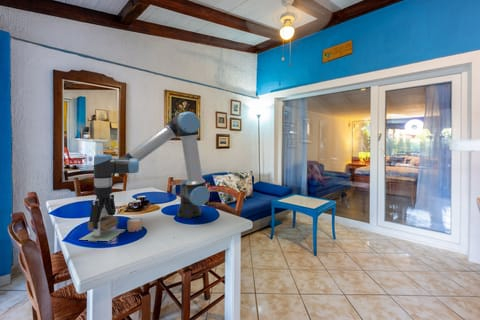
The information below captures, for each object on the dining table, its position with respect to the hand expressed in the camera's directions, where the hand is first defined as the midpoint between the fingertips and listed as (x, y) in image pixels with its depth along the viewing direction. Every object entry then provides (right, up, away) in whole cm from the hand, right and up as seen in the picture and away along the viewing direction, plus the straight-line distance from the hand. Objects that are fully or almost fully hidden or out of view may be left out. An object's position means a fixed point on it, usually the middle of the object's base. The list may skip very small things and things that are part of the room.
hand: (103, 231), depth 109 cm
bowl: (+11, -2, +9) cm, 14 cm away
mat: (0, -2, 0) cm, 2 cm away
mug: (-9, -1, +14) cm, 17 cm away
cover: (0, +2, 0) cm, 2 cm away
